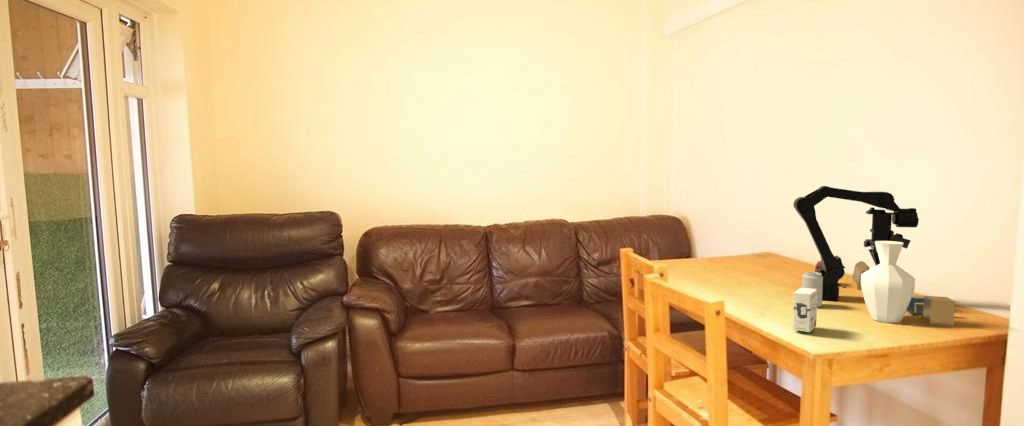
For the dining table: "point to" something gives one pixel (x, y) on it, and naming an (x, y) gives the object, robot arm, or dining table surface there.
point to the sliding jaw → (915, 301)
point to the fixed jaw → (918, 308)
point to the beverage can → (814, 284)
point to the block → (938, 311)
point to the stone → (859, 273)
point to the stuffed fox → (819, 268)
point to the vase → (887, 285)
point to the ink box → (805, 309)
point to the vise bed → (912, 312)
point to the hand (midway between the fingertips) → (879, 270)
